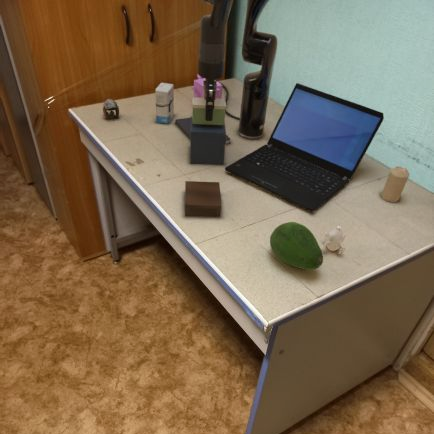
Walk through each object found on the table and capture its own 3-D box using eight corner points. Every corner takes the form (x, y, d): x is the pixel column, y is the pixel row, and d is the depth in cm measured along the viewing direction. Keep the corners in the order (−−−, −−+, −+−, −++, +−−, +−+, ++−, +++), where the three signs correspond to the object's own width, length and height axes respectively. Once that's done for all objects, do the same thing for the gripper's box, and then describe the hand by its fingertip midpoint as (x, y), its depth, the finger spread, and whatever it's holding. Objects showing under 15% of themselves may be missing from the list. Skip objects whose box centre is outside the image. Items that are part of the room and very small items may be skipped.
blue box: (190, 147, 147) (190, 116, 139) (221, 148, 148) (224, 117, 140) (190, 163, 139) (190, 131, 131) (223, 164, 140) (226, 132, 132)
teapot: (181, 98, 177) (181, 73, 170) (208, 93, 182) (210, 69, 175) (202, 115, 166) (203, 89, 159) (230, 110, 172) (232, 84, 165)
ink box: (168, 124, 159) (167, 92, 150) (155, 122, 159) (154, 90, 151) (174, 115, 164) (174, 83, 156) (162, 113, 165) (161, 81, 157)
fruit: (327, 272, 105) (338, 241, 98) (297, 286, 101) (306, 255, 94) (289, 239, 114) (296, 208, 107) (259, 250, 110) (265, 219, 102)
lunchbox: (191, 116, 136) (192, 97, 132) (223, 117, 137) (225, 98, 133) (191, 124, 132) (192, 104, 128) (224, 125, 133) (226, 106, 129)
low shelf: (185, 192, 127) (185, 181, 124) (218, 193, 127) (219, 182, 125) (184, 216, 118) (185, 204, 115) (220, 217, 119) (221, 205, 116)
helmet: (117, 117, 163) (113, 98, 160) (123, 116, 156) (119, 96, 153) (103, 120, 160) (98, 100, 158) (108, 119, 154) (103, 98, 151)
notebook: (175, 123, 159) (198, 149, 146) (175, 119, 158) (198, 144, 145) (205, 119, 164) (231, 143, 151) (205, 115, 163) (231, 139, 150)
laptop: (223, 172, 136) (228, 112, 122) (286, 136, 158) (296, 82, 144) (311, 215, 122) (328, 153, 109) (367, 169, 144) (387, 112, 130)
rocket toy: (321, 253, 111) (328, 229, 105) (322, 240, 114) (329, 216, 109) (341, 257, 110) (350, 233, 104) (342, 244, 114) (350, 220, 108)
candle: (400, 195, 133) (412, 166, 126) (397, 203, 130) (410, 174, 123) (382, 190, 135) (393, 161, 128) (379, 198, 131) (391, 169, 124)
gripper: (225, 67, 117) (221, 126, 129) (222, 51, 127) (219, 107, 139) (198, 65, 116) (196, 125, 128) (198, 49, 126) (196, 106, 138)
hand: (208, 115), depth 134 cm, fingers closed on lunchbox, 6 cm apart
